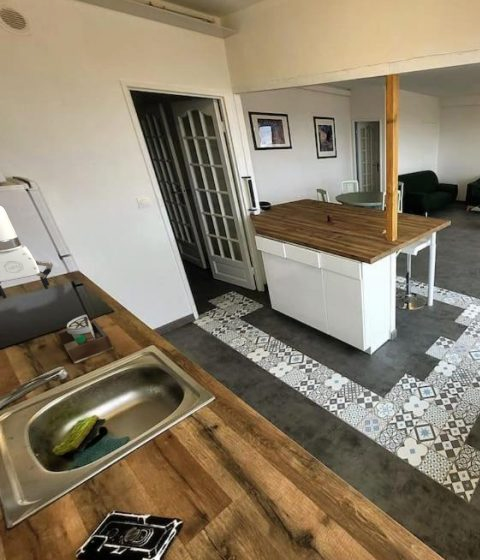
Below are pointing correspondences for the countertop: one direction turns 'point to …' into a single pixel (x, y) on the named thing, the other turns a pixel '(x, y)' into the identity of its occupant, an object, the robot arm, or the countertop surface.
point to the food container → (81, 330)
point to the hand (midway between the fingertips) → (26, 292)
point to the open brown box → (86, 344)
